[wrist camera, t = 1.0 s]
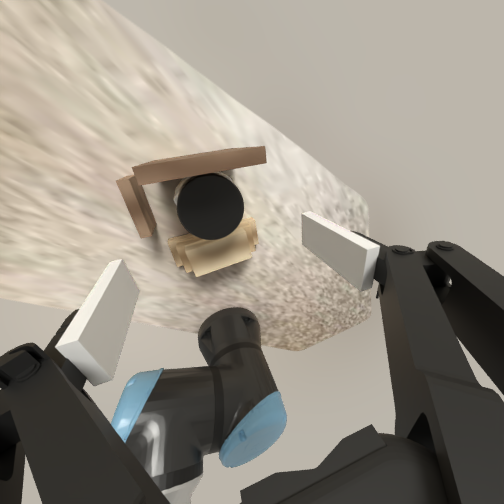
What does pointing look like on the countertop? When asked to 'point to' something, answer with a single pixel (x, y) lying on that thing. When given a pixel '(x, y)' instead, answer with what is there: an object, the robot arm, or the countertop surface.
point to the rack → (176, 170)
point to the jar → (209, 205)
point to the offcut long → (173, 241)
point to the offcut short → (218, 252)
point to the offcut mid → (181, 245)
